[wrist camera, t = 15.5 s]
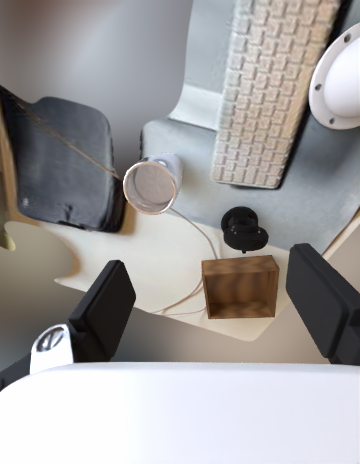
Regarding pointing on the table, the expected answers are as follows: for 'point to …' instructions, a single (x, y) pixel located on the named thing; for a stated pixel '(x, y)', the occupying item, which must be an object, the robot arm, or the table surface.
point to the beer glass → (154, 183)
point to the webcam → (243, 230)
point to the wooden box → (240, 287)
